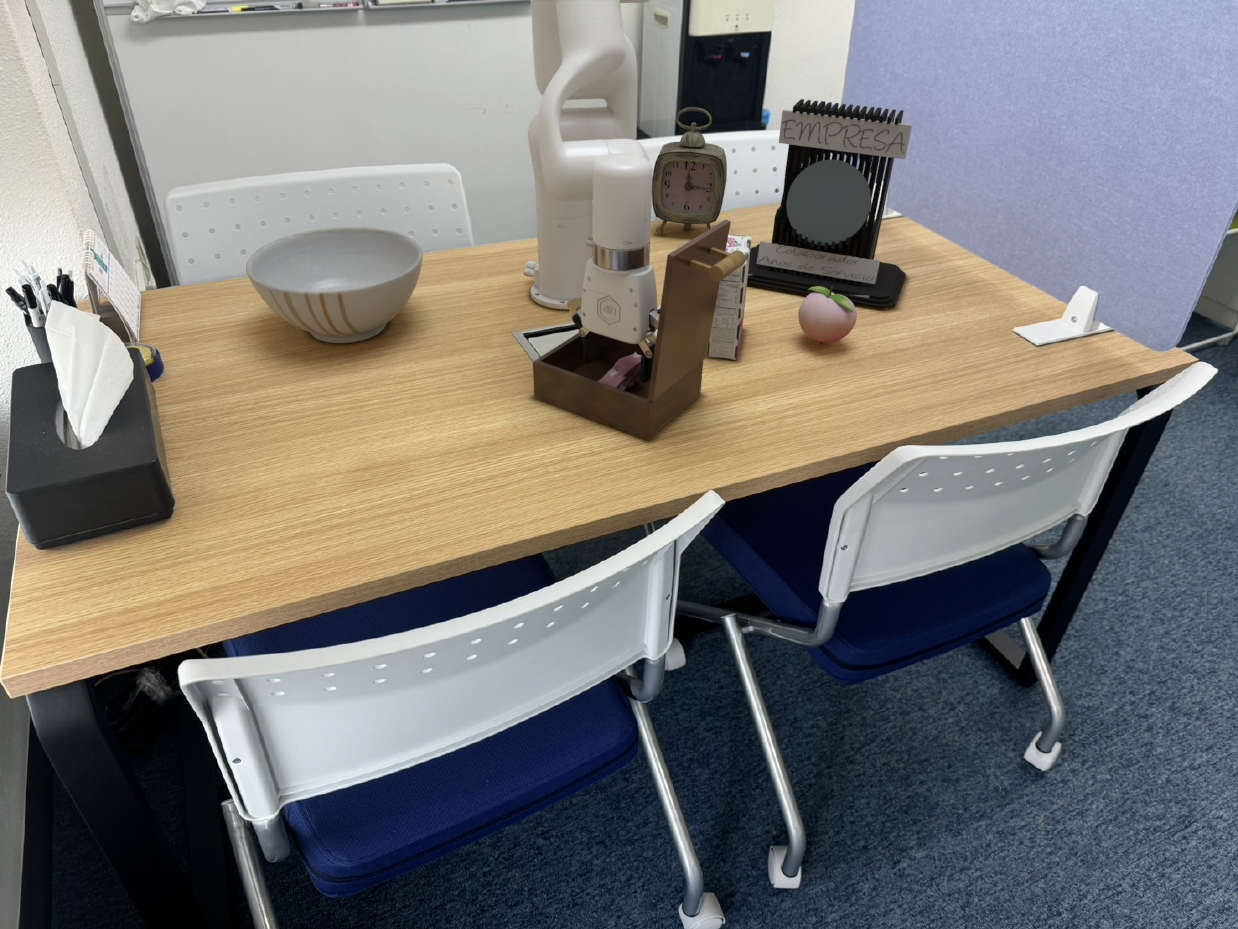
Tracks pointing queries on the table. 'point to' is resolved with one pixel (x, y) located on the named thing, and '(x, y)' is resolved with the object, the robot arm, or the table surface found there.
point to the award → (833, 205)
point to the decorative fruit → (826, 315)
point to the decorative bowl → (337, 280)
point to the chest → (609, 388)
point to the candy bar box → (730, 305)
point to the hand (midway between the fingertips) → (619, 369)
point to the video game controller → (623, 372)
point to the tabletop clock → (689, 179)
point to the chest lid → (690, 305)
